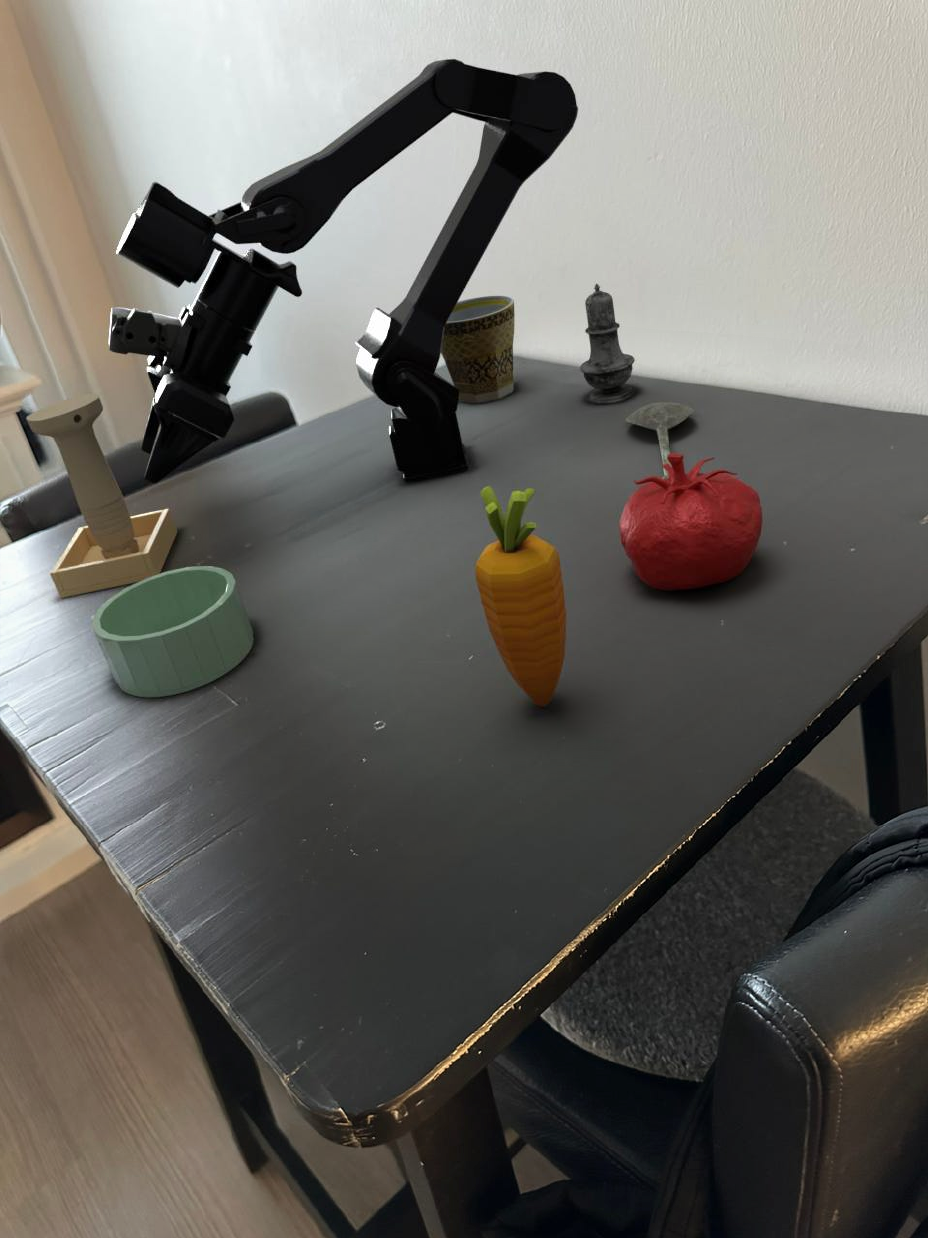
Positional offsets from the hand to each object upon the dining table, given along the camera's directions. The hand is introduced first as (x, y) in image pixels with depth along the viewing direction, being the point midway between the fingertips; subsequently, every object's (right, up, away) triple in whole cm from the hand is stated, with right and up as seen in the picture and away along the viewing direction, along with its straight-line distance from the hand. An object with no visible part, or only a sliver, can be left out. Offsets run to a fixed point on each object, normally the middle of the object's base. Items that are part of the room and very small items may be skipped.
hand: (147, 465), depth 95 cm
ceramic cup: (+31, +13, +27) cm, 43 cm away
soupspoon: (+48, +1, 0) cm, 48 cm away
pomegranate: (+46, -11, -20) cm, 51 cm away
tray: (-3, -9, +3) cm, 10 cm away
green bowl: (+8, -17, -16) cm, 24 cm away
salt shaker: (+45, +10, +17) cm, 49 cm away
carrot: (+34, -20, -30) cm, 50 cm away
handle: (-3, -8, +3) cm, 9 cm away
